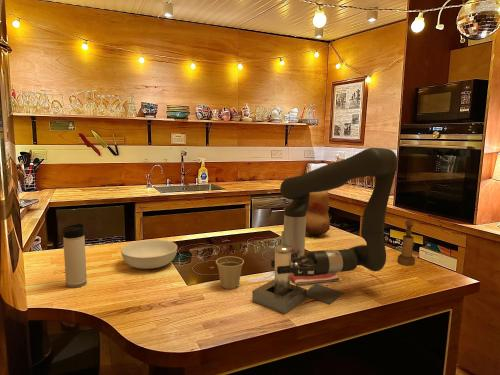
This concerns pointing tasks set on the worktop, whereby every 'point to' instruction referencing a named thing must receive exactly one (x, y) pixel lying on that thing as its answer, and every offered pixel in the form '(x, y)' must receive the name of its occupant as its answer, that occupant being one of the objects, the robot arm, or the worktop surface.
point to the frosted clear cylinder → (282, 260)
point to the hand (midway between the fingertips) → (274, 266)
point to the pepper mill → (407, 246)
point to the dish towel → (314, 279)
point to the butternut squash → (318, 213)
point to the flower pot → (229, 271)
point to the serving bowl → (149, 253)
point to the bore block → (279, 297)
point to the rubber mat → (323, 293)
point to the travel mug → (74, 255)
